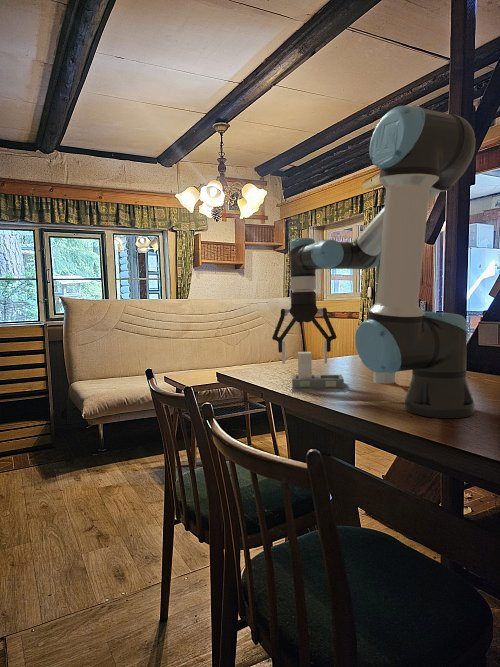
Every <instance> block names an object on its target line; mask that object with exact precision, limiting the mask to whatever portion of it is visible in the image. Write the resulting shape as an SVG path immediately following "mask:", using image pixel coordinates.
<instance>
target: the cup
mask: <svg viewBox="0 0 500 667" xmlns="http://www.w3.org/2000/svg"><path fill="white" fill-rule="evenodd" d="M372 376H373V377H372V379H373V383H375V384H380V385H381V384H383V385H391V384H395V380H396V372H395V373H377V372H374V371H372Z"/></svg>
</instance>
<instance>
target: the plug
mask: <svg viewBox="0 0 500 667" xmlns="http://www.w3.org/2000/svg"><path fill="white" fill-rule="evenodd" d="M312 359H313V358H312V351H297V370H298V371H297V375H298V379H312V375H313V374H312V373H313V369H312V367H313V366H312V364H313V362H312V361H313V360H312Z"/></svg>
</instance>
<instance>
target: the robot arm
mask: <svg viewBox="0 0 500 667" xmlns="http://www.w3.org/2000/svg"><path fill="white" fill-rule="evenodd" d="M369 142H370V143H369V147H368V148H369V150H368V151H369V158H370V160H371V163H372V165H374V166H375V167H376V168H378V169H379V177H378V179H379V180H378V181H379V183H381V185H382V186H383V187H384V188H385V198H384V206H383V207H382V209H381V210H380V211H379V212H378V213H377V214H376V215H375V217H374V218H373V219H372V220H371V221H370V222H369V223H368V225H367V226H366V227H365V228H363V230H362V232H361V233H360V234H359V235H358V236H357V237H356V238H355V240H353V241H337V240H335V239H322V240H320V241H317V242H316V240H315V239H314V238H311V237H300V238H294V239H292V240H291V241H290V243H289V244H290V245H289V265H290V266H289V267H290V268H289V271H290V273H289V274H290V277H289V279H290V291H292V292H291V293H290V308H288V309H287V308H281V309H280V317H279V318H278V322H277V324H276V327H275V330H274V332H273V335H272V337H271V339H272V340H273V341H276V342H277V343H278V344H277V345H278V353H281V359H282V363H281V364H283V365H286V341H283V340H284V339H285V337H286V336H287V334H289V332H290V331H291V330H292V327H294V325H295V324H296V322H297V323H299V324H300V323H311V322H312V323H313V324H314V326H315V328H317V330H318V331H319V332H320V334H321V335H322V336H323V337H324V339H325V340H323V363H324V364H328V353H330V352H331V349H332V348H331V344H332V341H333V340H336V339H337V338H338V337H337V334H336V332H335V330H334V327H333V325H332V323H331V321H330V318H329V316H328V310H327V309H328V308H327V307H322V308H320V307H319V308H318V307H317V292H316V290H317V280H316V279H317V276H316V274H317V273H316V270H336V269H337V270H343V269H344V270H346V269H347V270H369V269H374V268H376V267H379V268H378V269H379V270H378V279H377V291H376V293H377V294H376V302H375V303H374V304H373V305H372V306H370V308H368V314H367V319H366V320H364V321H362V322H361V323H359V326H358V327H357V328H356V331H355V334H354V342H355V343H354V345H355V349H356V353H357V355H358V357H359V359H360V360H361V362H362V364H364V366H365V367H366V368H367V369H368V370H370V371H372V372H373V371H374V372H377V373H395V374H396V373H398V372H404V371H405V372H406V371H412V375H411V376H412V377H411V381H410V383H409V386H408V389H407V392H406V395H405V397H404V409H405V410H406V411H407V412H408V413H411V414H414V415H418V416H423V417H427V418H436V419H462V418H467V417H471V416H473V415H474V414H475V401H474V398H473V396H472V393H471V389H470V387H469V383H468V381H467V353H468V352H467V350H468V349H467V347H468V344H467V343H468V339H467V338H468V332H469V331H468V330H467V319H466V318H465V317H464V316H463V315H461V314H458V313H450V312H437V311H436V312H435V311H423V309H422V308H421V307H420V306H419V299H420V298H419V297H420V290H421V288H420V287H421V280H422V271H423V270H422V269H423V268H422V267H423V259H424V251H425V250H424V248H425V241H426V240H425V239H426V232H427V231H426V230H427V222H428V221H427V220H428V211H429V204H430V203H431V202H432V200H434V198H435V197H436V196H437V195H438V194H440V193H441V192H447V191H449V190H450V189H451V188H452V187H453V186H454V184H456V183H457V182H458V181H459V180H460V178H461V177H462V176H463V175H464V174H465V172H466V171H467V169H468V167H469V166H470V164H471V162H472V161H473V160H472V159H473V157H474V154H475V151H476V137H475V131H474V130H473V127H472V125H471V124H470V122H468V121H467V119H465V118H464V117H461V115H457V114H453V113H446V112H443V111H442V112H441V111H436V110H433V109H428V108H422V107H421V106H417V105H414V106H409V105H398V106H396V107H393V108H392V109H390V110H389V111H387V113H385V114H384V115H383V116H382V117H381V119H380V121H379V122H378V123H377V125H376V127H374V131H373V133H372V136H371V139H370V141H369ZM378 265H379V266H378ZM318 313H319V315H321V316H322V317H323V319H324V322H325V324H326V326H327V329H328V331H329V333H330V335H328V333H327V331H325V329H324V328H323V327H322V325H321V324H320V323H319V322H318V321H317V319H316V315H317V314H318ZM288 314H290V315H291V316H292V319H291V320H290V322H289V323H288V325H287V326H286V328H285V329H284V330H283V332H282V333H281V335H280V336H279V333H280V331H281V329H282V328H281V327H282V325H283V324H284V321H285V317H287V316H288Z"/></svg>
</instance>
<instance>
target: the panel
mask: <svg viewBox="0 0 500 667" xmlns="http://www.w3.org/2000/svg"><path fill="white" fill-rule="evenodd" d="M291 378H292V379H291V382H292V384H291V388H292V389H291V393H346V389H345V383H344V382H345V379H344V377H343V375H342V374H312V379H298V374H293V375H292V377H291Z"/></svg>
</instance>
